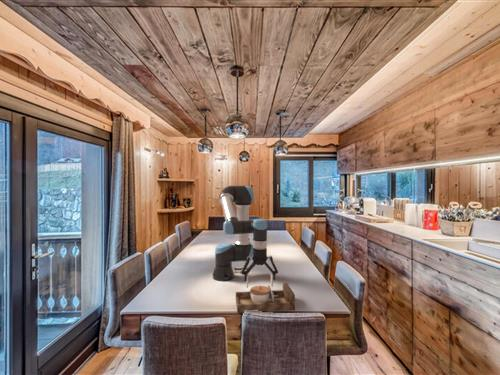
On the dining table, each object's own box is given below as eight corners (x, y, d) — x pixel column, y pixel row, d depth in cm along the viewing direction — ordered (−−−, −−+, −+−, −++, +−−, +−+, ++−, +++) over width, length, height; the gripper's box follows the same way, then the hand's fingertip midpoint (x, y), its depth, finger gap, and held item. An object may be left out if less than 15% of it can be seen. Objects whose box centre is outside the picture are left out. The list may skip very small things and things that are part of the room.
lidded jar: (268, 298, 147) (268, 282, 147) (271, 307, 136) (271, 290, 136) (249, 299, 146) (249, 282, 146) (250, 308, 136) (250, 290, 136)
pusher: (271, 307, 135) (272, 295, 135) (267, 297, 148) (267, 285, 148) (281, 307, 136) (281, 294, 136) (276, 296, 149) (276, 285, 149)
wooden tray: (237, 313, 132) (237, 297, 132) (235, 299, 148) (235, 285, 148) (294, 310, 135) (294, 294, 135) (287, 296, 151) (287, 283, 151)
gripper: (237, 250, 136) (237, 290, 137) (283, 249, 139) (283, 288, 139) (236, 246, 143) (236, 284, 144) (280, 245, 146) (280, 282, 147)
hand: (259, 286), depth 142 cm, fingers open, 13 cm apart
